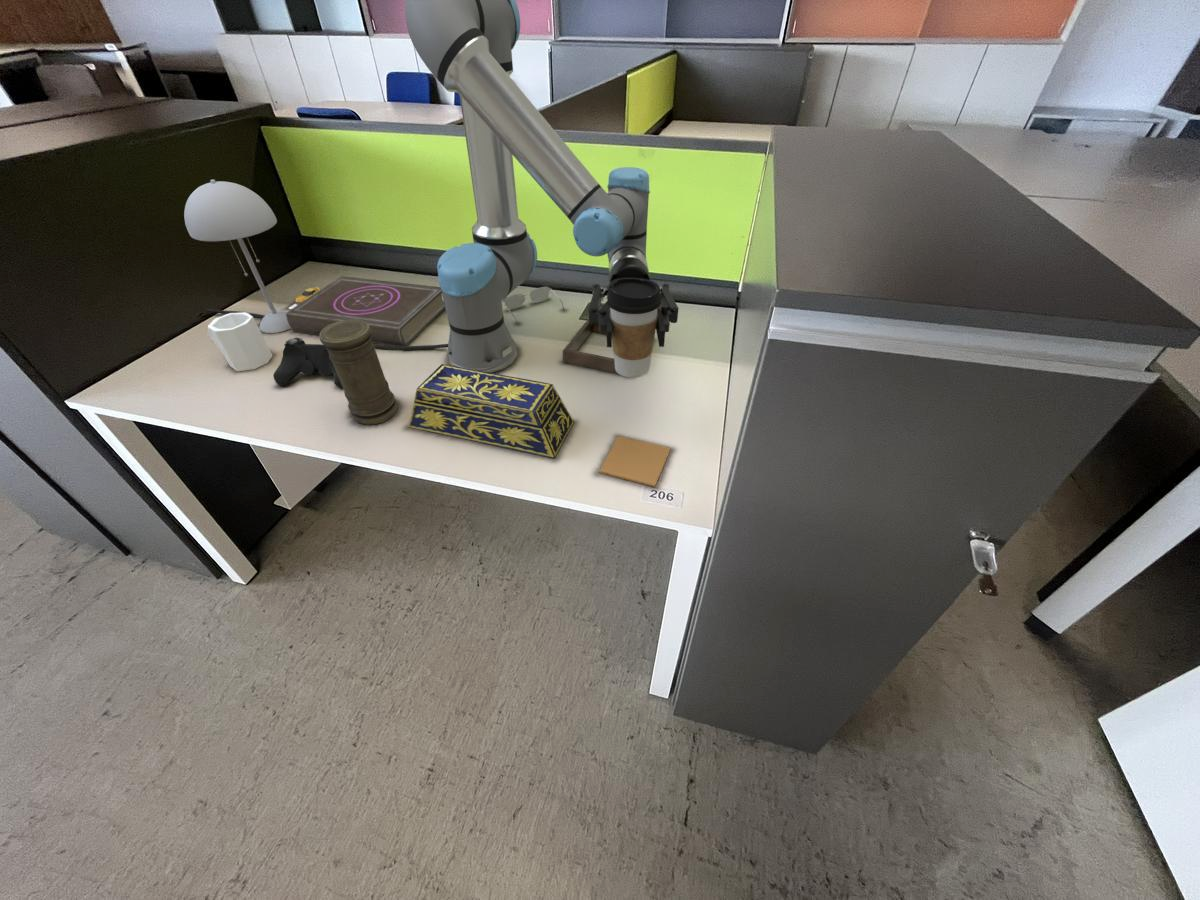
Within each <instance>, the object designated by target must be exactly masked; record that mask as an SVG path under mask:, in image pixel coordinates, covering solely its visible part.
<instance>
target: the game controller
mask: <svg viewBox="0 0 1200 900" xmlns="http://www.w3.org/2000/svg"><path fill="white" fill-rule="evenodd" d="M318 373H320V374H321V375H322V376H325V377H327V376H328V377H329V376H332V375H333V383H334V385H335V386H336V387H337V388H340V389H343V386H342V384H341V382H340V379H339V377H338V375H337V372H336V370H335V368H334V365H333V363H332V360H330V358H329V353H328V350H327V349H326V348H325V346H324V345H323V344H322V343H321V344H319V343H306V341H305V340H304V339H303V338H301V337H297V336H296V337H294V338H289V339H288V340H286V341H285V343H284V347H283V350H282V357H281V361H280V363H279V365H278V366H277V368H276V369H275V371H274V373H273V375H272V376H273V380H274V382H275V384H277V386H280V387H285V386H286V387H287V386H290V384H291V383H292V382H293V381H294V380H295V379H296V378H297V377H299V375H300V374H303V375H305V376H311V375H316V374H318Z"/></svg>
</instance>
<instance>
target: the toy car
mask: <svg viewBox="0 0 1200 900" xmlns="http://www.w3.org/2000/svg"><path fill="white" fill-rule="evenodd" d="M321 289H322V288H320V287H318V286H316V287H308V288H307V289H305V290H304V291H301V294H299V295H298V296H297V297H296V298H294V304H292V305H291V306H289V307H287V309H289V310H291V309H293V308H294V307H296V306H297V305H299V304H300V303H302V302H303V301H305V300H306V299H308V298H309V297H311V296H312V295H314V294H315V293H317V292H318V291H320V290H321Z"/></svg>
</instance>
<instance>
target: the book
mask: <svg viewBox="0 0 1200 900" xmlns="http://www.w3.org/2000/svg"><path fill="white" fill-rule="evenodd" d="M320 289H321V290H320V291H318V292H317V293H315V294H314V295H312V296H311V297H309V298H308V299H306V300H305V301H303V302H302V303H300V304H299V305H297V306H296V307H294V308H293V309H289V310H288V311H287V313H286V317H287V321H288V323H289V325H290V327H291V329H290V330H292V331H293V332H294V333H302V334H309V335H314V336H317V335H316V334H314V333H320V332H321V331H322V330H323V329H324V328H325V327H327V326H328V325H330V324H333V323H335V322H339V321H343V320H362V321H364V322H366V323H367V324H368V325H369V326H370V328H371V340H372V343H373V344H378V345H389V346H409V344H410V343H411V342H412V341H413V340H414V339H415V338H416V337H417V336H418V335H419V334H420V333H421V332H423V330H424V329H425V328H426V327H428V326H429V325H430V324H431V323H432V322H433V321H434V319H436V318H437V317H438V316H439V315H440V314H442V312H443V311H444V310H446V308H445V304H444V300H443V296H442V291H441V287H440V286H437V285H436V286H434V285H425V284H417V283H408V282H400V281H393V280H392V281H390V280H382V279H373V278H366V277H365V278H364V277H356V276H346V275H341V276H339V277H338V278H336V279H334V280H333V281H331V282H330V283H329V284H327V285H326V286H324V287H322V288H320Z"/></svg>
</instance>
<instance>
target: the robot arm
mask: <svg viewBox="0 0 1200 900" xmlns="http://www.w3.org/2000/svg"><path fill="white" fill-rule="evenodd" d="M404 20H405V21H404V22H405V24H406V29H407V32H408V36H409V39H410V41H411V42H412V46H413V47H414V50H415V51H416V52H417V54H418V56H419V57H420V59H421V61H422V62H423V63H424V65H425V66H426V67H427V69H428V70H429V72H430V73H431V74H432V76H434V78H435V79H436V80H437V81H438V83H440V84H441V85H442V87H443V88H444V89H445V90H446V91H447V92H449V93H457V94H458V95H459V102H460V109H461V115H462V116H461V117H462V122H463V130H464V136H465V143H466V150H467V157H468V163H469V164H468V165H469V171H470V177H471V184H472V192H473V198H474V199H473V200H474V205H475V213H476V217H477V220H476V221H475V223H474V224H473V225H472V227H471V234H472V240H473V242H471V243H462V244H460V245H459V246H453V247H452V248H449V249H447V250H445V252H443V253H442V255H441V256H440V257H439V259H438V261H437V264H436V269H437V281H438V285H439V287H441V291H442V300H443V302H444V304H445V312H446V316H447V320H448V325H449V335H448V336H449V337H448V343H441V344H429V345H407V346H393V345H385V344H378V343H373V344H374V346H375V349H383V350H403V351H404V350H406V351H407V350H408V351H409V350H411V351H412V350H430V349H431V350H434V349H444V348H446V349H447V353H446V354H447V359H448V363H449V365H450V366H456V367H461V368H467V369H472V370H478V371H483V372H489V373H494V374H495V373H498V372H499V371H502V370H504V369H506V368H508V367H509V366H511V365H512V364H513V363H514V361H515V360H516V359H517V357H518V349H517V345H516V342H515V340H514V338H513V336H512V335H511V333H510V331H509V328H508V326H507V325H506V322H505V317H504V310H503V302H502V301H504V299H505V298H506V297H508V296H510V294H511V293H512V292H513V291H514V290H516V289H517V288H518V287H520V285H522V284H524V283H525V282H526V281H527V280H528V279H529V278H530V277H531V275H532V273H533V272H534V271H535V270H536V266H537V263H538V250H537V246H536V243H535V241H534V239H533V238H531V235H530V233H529V232H527V231H528V230H527V225H526V224H525V222H524V221H523V220H521V219H520V218H519V210H518V209H519V208H518V199H517V190H516V189H517V187H516V177H515V168H514V167H515V166H514V159H516V161H517V162H518V163H519V164H520V165H521V167H522V168H523V169H524V170H525V171H526V173H528V175H530V177H531V178H532V179H533V180H534V181H535V183H537V185H538V186H539V187H540V188H541V189H542V190H543V192H544V193H545V194H546V195H547V196H548V197H549V198H550V199H551V200H552V202H553V203H554V204H555V205H556V207H558V208H559V209H560V211H561V213H563V214H564V215H565V217H567V219H568V220H569V221H570V223H571V224H572V225H573V227H572V236H573V238H574V242H575V244H576V246H577V247H578V249H580V251H581V252H582V253H584V254H586V255H588V256H590V257H595V258H596V257H597V258H598V257H603V256H605V255H607V258H608V284H607V285H606V287H604V286H600V284H598V283H594V284H592V297H591V300H590V302H589V304H588V311H587V313H588V314H587V315H588V319H589V323H591V324H593V323H596V322H598V323H599V331H600V332H601V333H600V334H604V333H605V332H607V334H606V348H613V343H612V323H611V319H610V317H611V315H610V307H609V305H608V303H607V301H606V302H605V303H603V305H602V302H603V301H604V298H606V296H608V290H609V285H610V283H611V282H612V281H613V280H615V279H619V278H642V279H647V280H651V277H650V271H649V265H648V260H647V239H648V238H647V237H648V235H647V234H648V217H649V202H650V201H649V200H650V199H649V198H650V194H651V191H650V175H649V173H648V172H647V171H646V170H645V169H644V168H643V169H642V168H640V167H633V166H622V167H618V168H614V169H612V170H611V171H610V172H609V174H608V182H607V183H608V184H607V187H606V188H607V191H606V190H605V189H604V188H603V187H602V186H601V185H600V183H599V182H598V181H597V180H596V178H595V177H594V176H593V175H592V174H591V173H590V171H589V170H588V169H587V167H585V165H584V164H583V163H582V162H581V160H580V159H579V158H578V157H577V155H575V153H574V152H573V151H572V150H571V149H570V147H569V146H568V145H567V144H566V143H565V142H564V140H563V139H562V138H561V136H560V135H559V134H558V133H557V132H556V130H555V129H554V128H553V127H552V126H551V124H550V123H549V122H548V121H547V119H546V118H545V117H544V116H543V114H542V113H541V112H540V111H539V110H538V108H536V106H535V105H534V104H533V103H532V102H531V100H530V99H529V98H528V96H527V95H526V94H525V93H524V92H523V91H522V89H521V88H520V87H519V86H518V85H517V84H516V82H515V81H514V80H513V79H512V77H511V75H512V74H513V73H514V63H513V53H512V50H514V48H515V46H516V44H517V42H518V40H519V37H520V32H521V16H520V11H519V6H518V3H517V0H405V2H404ZM659 287H660V295H661V304H660V306H659V307H658V309H657V313H658V318H657V324H656V330H655V332H656V336H657V337H656V338H657V342H658V347H659V348H664V347H665V339H666V333H669V332H670V325H671V324H676V323H678V317H679V306H678V304H677V302H676V301H675V299H674V297H673V295H672V294H671V292H670V284H668V283H663V284H662V286H659ZM206 309H207V313H215V314H216V313H217V314H224V315H226V314H229V313H243V312H244V311H240V310H239V311H238V310H223V309H216V308H214V309H213V308H206ZM245 312H246V313H248V314H250V315H251V316H253V318H259V319H263V318H264V317H265V316H266V314H265V315H264V314H260V313H254V312H247V311H245ZM203 314H205V313H199V314H198V313H197V314H196V317H197V318H200V317H201V316H202V315H203ZM314 334H316V335H315V336H319V337H320V333H314ZM314 334H313V335H314Z"/></svg>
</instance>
